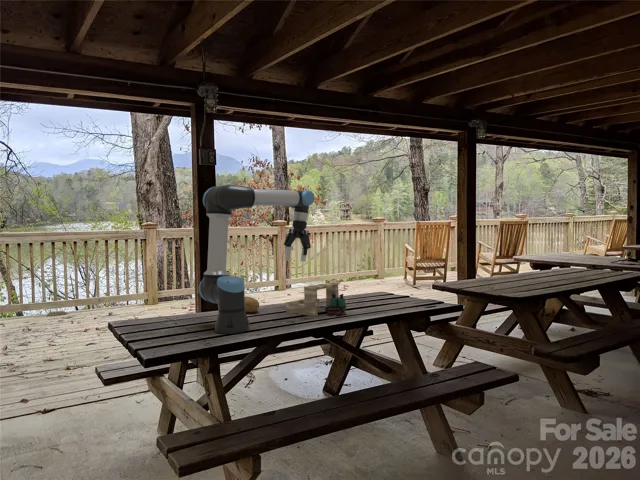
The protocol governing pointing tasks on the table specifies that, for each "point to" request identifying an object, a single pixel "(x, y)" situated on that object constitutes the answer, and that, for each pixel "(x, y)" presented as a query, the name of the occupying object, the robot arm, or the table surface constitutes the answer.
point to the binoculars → (336, 305)
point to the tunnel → (312, 299)
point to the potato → (251, 304)
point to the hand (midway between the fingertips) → (294, 260)
